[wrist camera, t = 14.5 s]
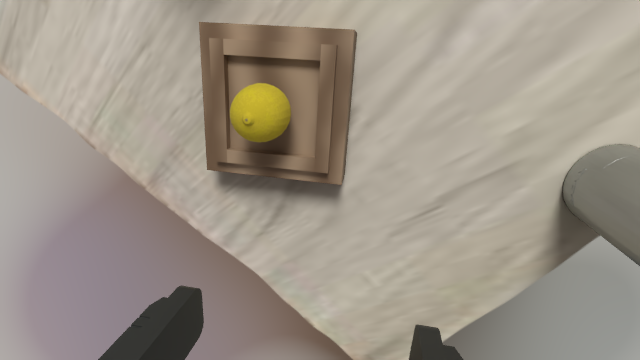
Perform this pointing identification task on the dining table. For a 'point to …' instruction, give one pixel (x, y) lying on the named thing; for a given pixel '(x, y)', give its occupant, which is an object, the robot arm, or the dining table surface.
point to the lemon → (260, 112)
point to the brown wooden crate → (298, 86)
